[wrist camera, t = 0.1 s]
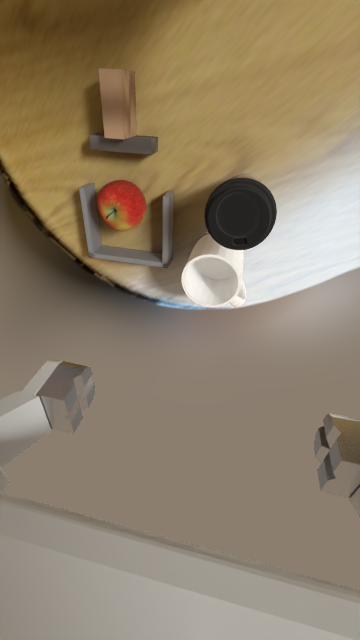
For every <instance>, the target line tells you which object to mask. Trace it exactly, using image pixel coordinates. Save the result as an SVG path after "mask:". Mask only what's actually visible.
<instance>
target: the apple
mask: <svg viewBox="0 0 360 640" xmlns="http://www.w3.org/2000/svg"><path fill="white" fill-rule="evenodd" d="M97 207H98V210H99V212H100V215H101V216H102V218H103V219H104V221H105V222H106V223H107V224H108V225H109V226H110V227H112V228H113V229H116V230H119V231H128V230H131V229H133V228H135V227H136V226H137V225H138V224H139V223H140V222H141V221H142V219H143V217H144V215H145V211H146V201H145V198H144V195H143V193H142V192H141V190H140V189H139V188H138V187H137V186H136V185H135V184H133V183H132V182H129V181H126V180H116V181H113V182H110V183H108V184H106V185H105V186H104V187H103V188H102V189H101V190H100V192H99V194H98V197H97Z"/></svg>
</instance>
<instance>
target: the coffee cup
mask: <svg viewBox="0 0 360 640" xmlns="http://www.w3.org/2000/svg"><path fill="white" fill-rule="evenodd" d="M276 214H277V210H276V203H275V200H274V197H273V195H272V194H271V192H270V191H269V189H268V188H267V187H266V186H265V185H263V184H262V183H261V182H260V181H259V180H258V179H257V178H256V177H255V176H253V175H251V174H242V175H238V176H236V177H234V178H233V179H231V180H228V181H226V182H224V183H222V184H221V185H220V186H218V187H217V188H216V189H215V190H214V191H213V193H212V194H211V195H210V197H209V199H208V201H207V204H206V208H205V223H206V227H207V230H208V232H209V234H210V235H211V237H212V238H213V239H214V240H215V241H216V242H217V243H218V244H220V245H221V246H223V247H225V248H228V249H232V250H246V249H250V248H252V247H255V246H256V245H258V244H260V243H261V242H262V241H263V240H264V239H265V238H266V237H267V236H268V235H269V233H270V232H271V230H272V228H273V226H274V224H275V220H276Z"/></svg>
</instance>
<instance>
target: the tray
mask: <svg viewBox="0 0 360 640" xmlns="http://www.w3.org/2000/svg"><path fill="white" fill-rule="evenodd" d="M79 192H80V198H81V205H82V212H83V218H84V225H85V232H86V238H87V245H88V252H89V257H91V258H98V259H106V260H113V261H120V262H127V263H134V264H142V265H149V266H156V267H163V268H168V266H169V264H170V263H171V261H172V254H173V219H174V191H168V192H167V193H166V194H165V195H164V196H163V253H156V252H149V251H141V250H133V249H126V248H118V247H111V246H103V245H102V243H101V234H100V226H99V218H98V209H97V201H96V192H95V184H94V183H88V184H86V185H84V186H82V187H80V188H79Z"/></svg>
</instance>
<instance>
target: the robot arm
mask: <svg viewBox="0 0 360 640" xmlns="http://www.w3.org/2000/svg"><path fill="white" fill-rule="evenodd" d="M91 375H92V370H91V368H90V367H87V366H83V365H78V364H74V363H69V362H65V361H60V360H55V359H50V360H48V361H46V362H45V364H44V365H43V366H42V367H41V368H40V370H39V371H38V372H37V373H36V374H35V376H34V377H33V378H32V379H31V381H30V382H29V383H28V384H27V386H26V387H25V388H24V389H23V390H22V391H21V392H18V391H17V392H15V393H13V394H11V395H9V396H7V397H5V398H3V399H1V400H0V640H360V590H357V589H354V588H350V587H346V586H343V585H339V584H335V583H331V582H328V581H324V580H321V579H317V578H313V577H310V576H306V575H303V574H299V573H295V572H291V571H288V570H284V569H281V568H277V567H273V566H270V565H266V564H262V563H259V562H255V561H251V560H248V559H244V558H240V557H237V556H233V555H229V554H226V553H222V552H218V551H215V550H211V549H207V548H204V547H200V546H197V545H193V544H189V543H186V542H182V541H178V540H175V539H171V538H167V537H164V536H160V535H156V534H153V533H149V532H145V531H142V530H138V529H134V528H131V527H127V526H124V525H120V524H116V523H113V522H109V521H105V520H102V519H98V518H94V517H91V516H87V515H83V514H80V513H76V512H72V511H69V510H65V509H61V508H57V507H54V506H50V505H47V504H43V503H39V502H36V501H32V500H28V499H25V498H21V497H17V496H14V495H10V494H6V493H3V491H4V489H5V488H6V486H7V484H8V483H9V482H8V477H7V476H6V474H5V473H4V471H3V470H2V467H3V466H5V465H6V464H7V463H8V462H10V461H11V460H13V459H14V458H15V457H17V456H18V455H19V454H21V453H22V452H23V451H24V450H26V449H27V448H29V447H30V446H31V445H32V444H34V443H35V442H37V441H38V440H39V439H41V438H42V437H43V436H45V435H46V434H47V433H49V432H50V431H51V429H54V430H59V431H64V432H68V433H73V434H74V432H75V431H76V429H77V427H78V425H79V424H80V422H81V420H82V418H83V416H82V411H83V410H85V409H87V408H88V407H89V406H90V404H91V402H92V400H93V396H94V392H95V385H94V382H93V381H92V380H91V379H90V377H91ZM323 422H324V426H323V427H320V428H318V431H317V433H316V435H315V441H314V451H315V457H316V458H317V460H318V461H319V462H320V463H321V465H320V466H319V468H318V470H317V471H318V478H319V484H320V491H323V492H326V493H330V494H334V495H338V496H342V497H346V498H349V501H350V502H351V504H352V505H353V507H354V508H355V510H356V511H357V513H358V514H359V516H360V419H356V418H351V417H345V416H340V415H335V414H327V415H326V416H325V417H324V419H323Z"/></svg>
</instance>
